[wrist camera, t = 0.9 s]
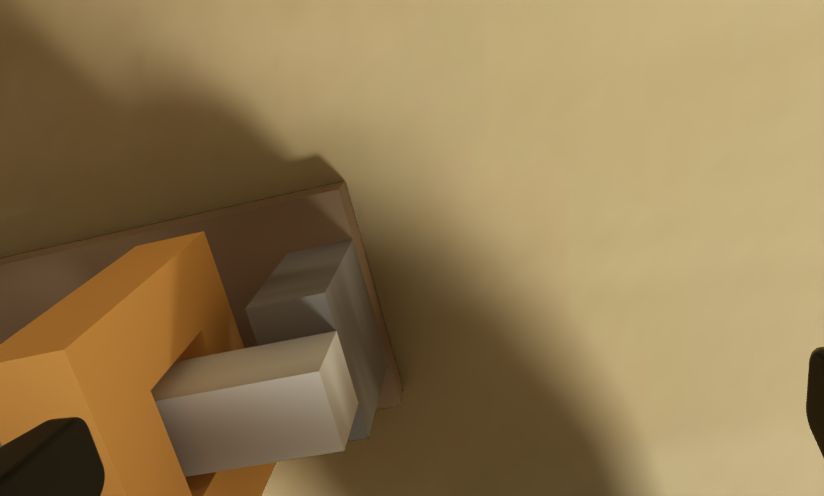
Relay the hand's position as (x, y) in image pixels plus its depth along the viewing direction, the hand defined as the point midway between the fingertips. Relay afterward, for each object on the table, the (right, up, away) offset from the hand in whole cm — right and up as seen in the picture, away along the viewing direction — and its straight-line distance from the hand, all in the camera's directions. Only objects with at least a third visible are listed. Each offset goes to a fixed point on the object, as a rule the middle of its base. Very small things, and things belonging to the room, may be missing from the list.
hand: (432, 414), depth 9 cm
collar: (-6, -1, +12) cm, 13 cm away
